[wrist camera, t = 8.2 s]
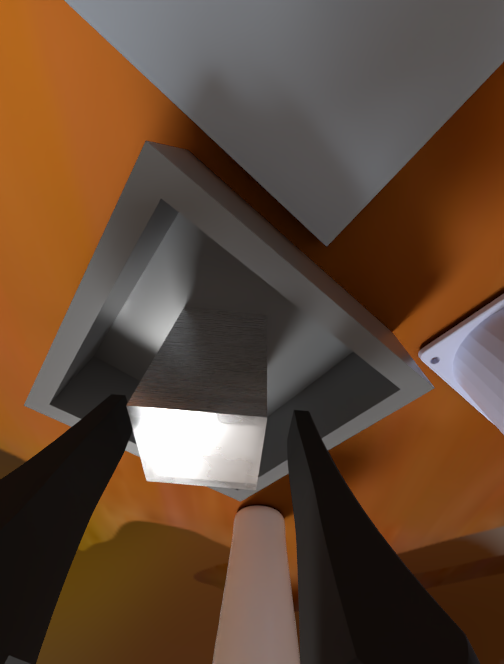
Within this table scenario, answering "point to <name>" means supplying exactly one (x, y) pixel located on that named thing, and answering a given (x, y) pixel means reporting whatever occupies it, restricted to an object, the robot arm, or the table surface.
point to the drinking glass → (257, 594)
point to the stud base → (311, 84)
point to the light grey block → (205, 401)
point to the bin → (224, 295)
